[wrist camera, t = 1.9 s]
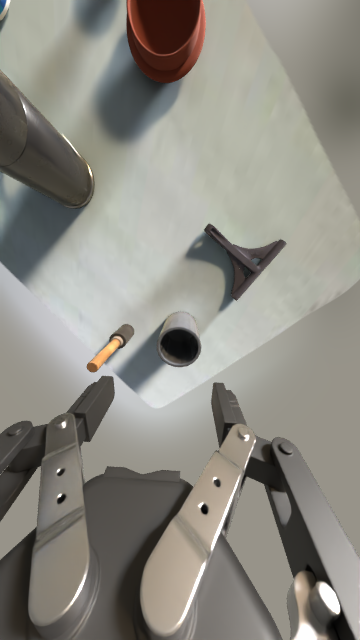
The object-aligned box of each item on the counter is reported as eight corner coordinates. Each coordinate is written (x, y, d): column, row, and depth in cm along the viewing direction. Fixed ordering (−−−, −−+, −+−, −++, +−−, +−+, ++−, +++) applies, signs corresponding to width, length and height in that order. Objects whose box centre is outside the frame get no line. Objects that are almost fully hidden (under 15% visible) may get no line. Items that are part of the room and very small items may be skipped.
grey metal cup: (159, 335, 41) (150, 358, 31) (171, 306, 39) (165, 320, 28) (189, 346, 42) (190, 372, 31) (202, 318, 40) (208, 336, 29)
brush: (118, 334, 42) (78, 372, 26) (122, 322, 40) (83, 354, 25) (131, 339, 42) (100, 380, 26) (136, 327, 41) (105, 362, 25)
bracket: (229, 195, 32) (233, 188, 29) (283, 245, 34) (291, 243, 32) (184, 258, 36) (183, 257, 33) (235, 299, 38) (238, 302, 35)
